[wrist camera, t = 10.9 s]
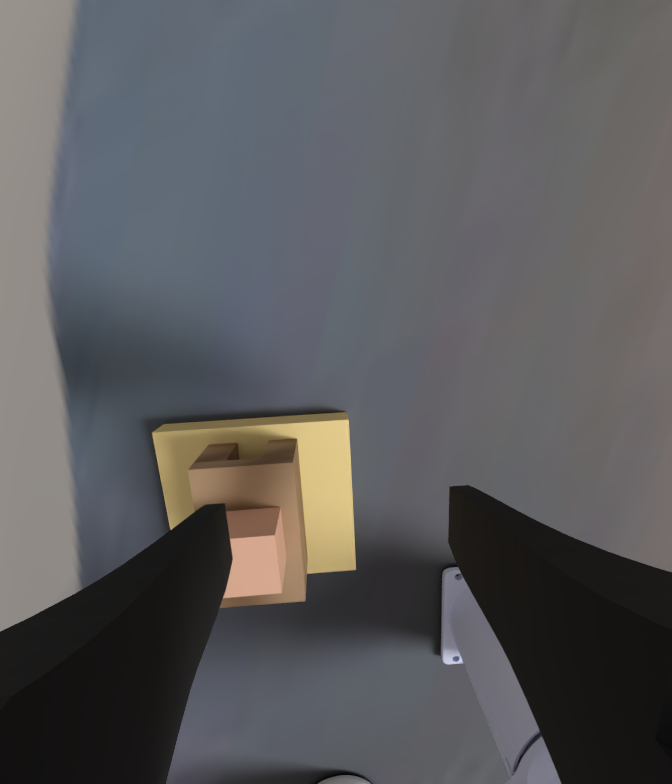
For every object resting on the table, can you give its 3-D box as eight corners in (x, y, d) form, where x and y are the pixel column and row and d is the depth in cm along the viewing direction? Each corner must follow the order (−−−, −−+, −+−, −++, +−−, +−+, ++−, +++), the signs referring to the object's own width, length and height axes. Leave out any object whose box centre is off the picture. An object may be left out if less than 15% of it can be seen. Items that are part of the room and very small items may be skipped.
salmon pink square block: (280, 506, 17) (274, 535, 15) (286, 559, 18) (281, 593, 16) (219, 511, 17) (205, 540, 15) (227, 563, 18) (214, 598, 16)
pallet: (297, 438, 20) (292, 462, 17) (307, 558, 21) (305, 601, 18) (208, 444, 19) (187, 470, 16) (227, 565, 21) (211, 608, 18)
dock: (346, 412, 21) (348, 419, 20) (353, 553, 23) (356, 570, 22) (163, 424, 21) (151, 432, 19) (189, 566, 23) (180, 583, 22)
